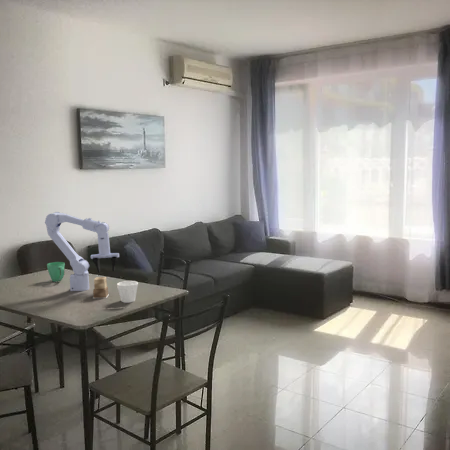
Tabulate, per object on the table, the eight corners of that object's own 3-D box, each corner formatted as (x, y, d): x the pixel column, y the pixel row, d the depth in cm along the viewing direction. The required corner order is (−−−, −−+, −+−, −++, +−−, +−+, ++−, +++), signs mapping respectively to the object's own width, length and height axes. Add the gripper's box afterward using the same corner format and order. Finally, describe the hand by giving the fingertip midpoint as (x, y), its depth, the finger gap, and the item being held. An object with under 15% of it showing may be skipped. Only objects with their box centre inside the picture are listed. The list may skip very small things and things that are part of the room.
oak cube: (94, 289, 252) (94, 279, 251) (96, 287, 257) (96, 277, 256) (104, 289, 252) (104, 279, 251) (106, 286, 257) (106, 276, 256)
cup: (118, 305, 239) (117, 286, 238) (117, 300, 248) (116, 281, 247) (140, 303, 241) (139, 284, 240) (137, 298, 251) (136, 280, 250)
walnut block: (93, 298, 251) (93, 290, 251) (96, 294, 257) (95, 287, 257) (105, 297, 251) (105, 289, 251) (108, 294, 257) (107, 286, 257)
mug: (45, 280, 294) (44, 263, 293) (61, 277, 301) (60, 261, 299) (55, 285, 283) (54, 267, 282) (72, 282, 289) (71, 264, 288)
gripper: (88, 247, 263) (90, 273, 264) (116, 246, 263) (118, 272, 264) (91, 245, 270) (94, 270, 271) (119, 244, 270) (121, 269, 271)
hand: (106, 271), depth 268 cm, fingers open, 7 cm apart
